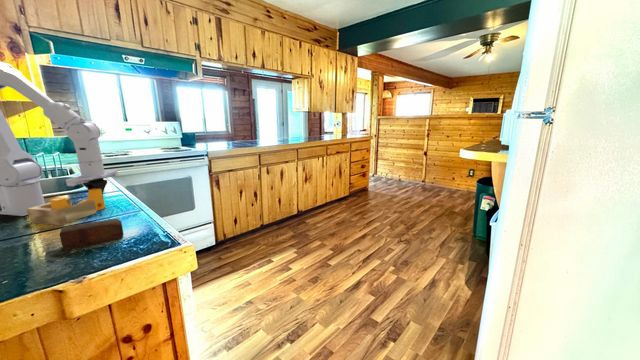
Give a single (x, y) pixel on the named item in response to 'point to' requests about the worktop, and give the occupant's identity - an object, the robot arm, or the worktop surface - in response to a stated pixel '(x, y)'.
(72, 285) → the worktop surface
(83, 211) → the wooden open tray
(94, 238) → the brick
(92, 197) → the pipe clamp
